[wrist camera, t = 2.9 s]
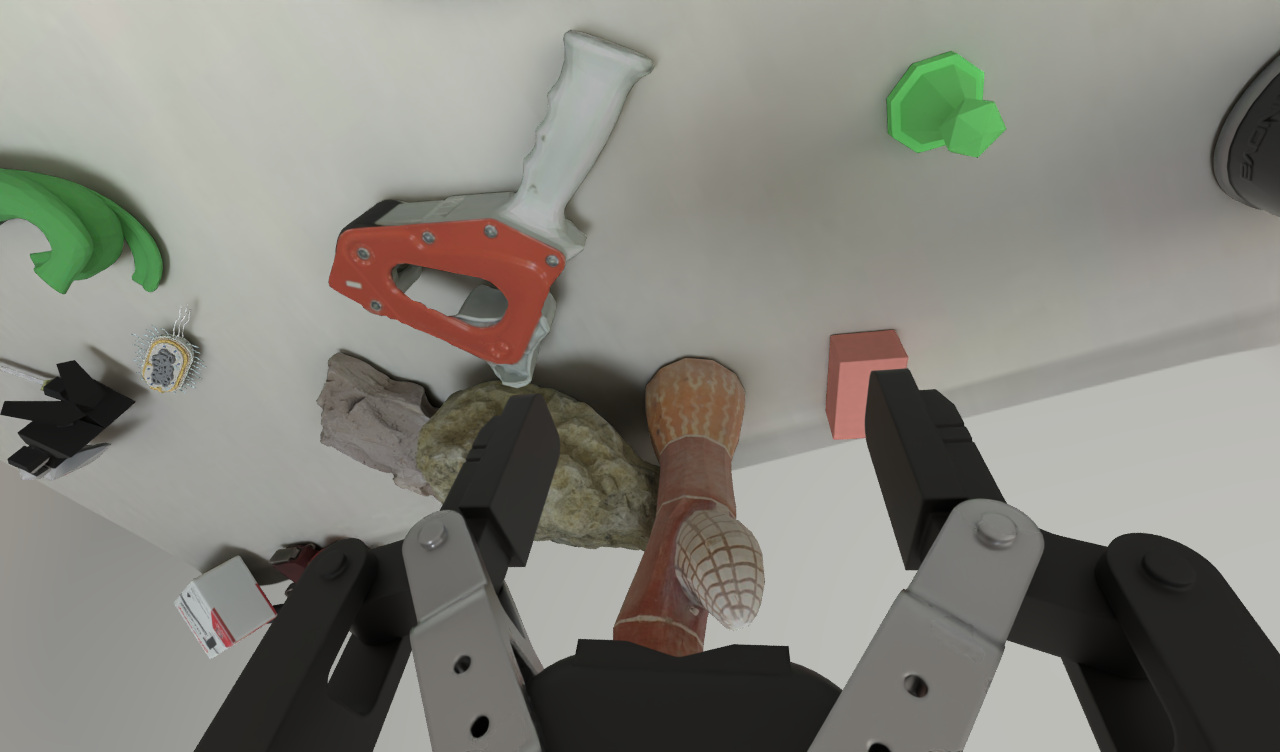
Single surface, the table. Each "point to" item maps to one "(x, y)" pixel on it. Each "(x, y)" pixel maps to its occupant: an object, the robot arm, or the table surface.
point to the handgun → (292, 565)
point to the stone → (375, 419)
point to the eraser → (857, 376)
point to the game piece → (943, 107)
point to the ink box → (224, 606)
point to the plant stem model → (693, 516)
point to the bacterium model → (168, 360)
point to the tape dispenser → (497, 225)
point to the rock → (584, 476)
